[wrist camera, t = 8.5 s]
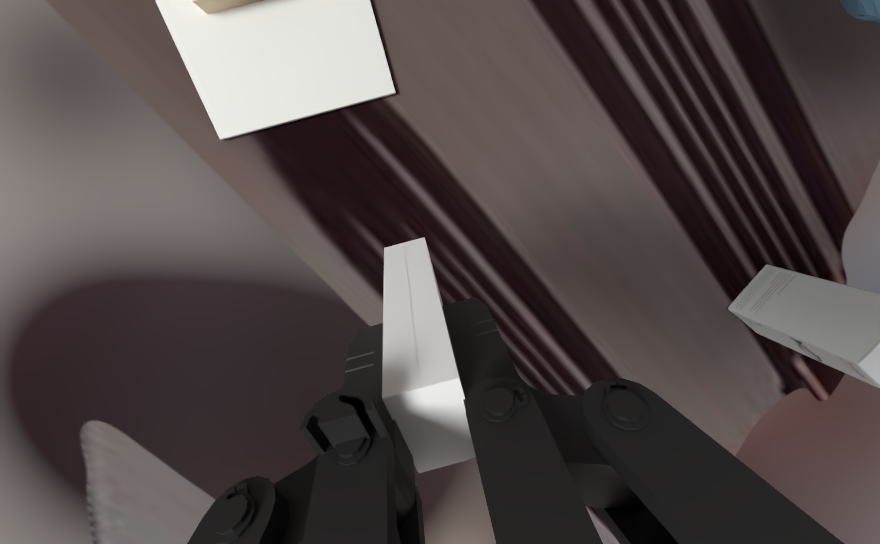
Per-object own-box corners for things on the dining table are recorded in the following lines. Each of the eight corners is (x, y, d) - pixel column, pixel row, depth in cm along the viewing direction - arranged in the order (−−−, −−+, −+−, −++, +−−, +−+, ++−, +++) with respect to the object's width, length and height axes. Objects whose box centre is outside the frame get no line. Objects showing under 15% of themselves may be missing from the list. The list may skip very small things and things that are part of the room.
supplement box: (724, 309, 42) (857, 364, 30) (765, 262, 41) (921, 301, 29) (753, 333, 45) (888, 394, 33) (794, 290, 43) (949, 337, 31)
